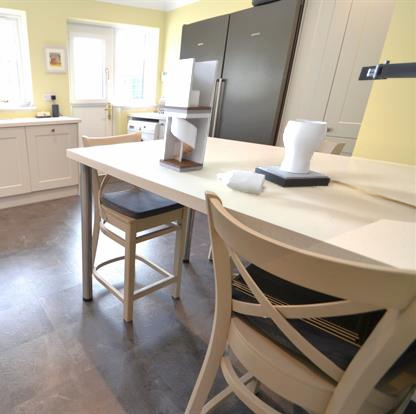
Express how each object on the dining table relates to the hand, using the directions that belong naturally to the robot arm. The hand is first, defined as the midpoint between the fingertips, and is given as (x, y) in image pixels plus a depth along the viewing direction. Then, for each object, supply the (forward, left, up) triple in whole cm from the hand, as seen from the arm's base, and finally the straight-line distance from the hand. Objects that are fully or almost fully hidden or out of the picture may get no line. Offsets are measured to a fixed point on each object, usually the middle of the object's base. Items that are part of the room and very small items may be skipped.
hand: (393, 74), depth 63 cm
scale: (+2, -19, -30) cm, 35 cm away
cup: (+1, -19, -27) cm, 33 cm away
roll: (+25, -11, -30) cm, 40 cm away
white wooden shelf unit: (+31, -38, -30) cm, 57 cm away
